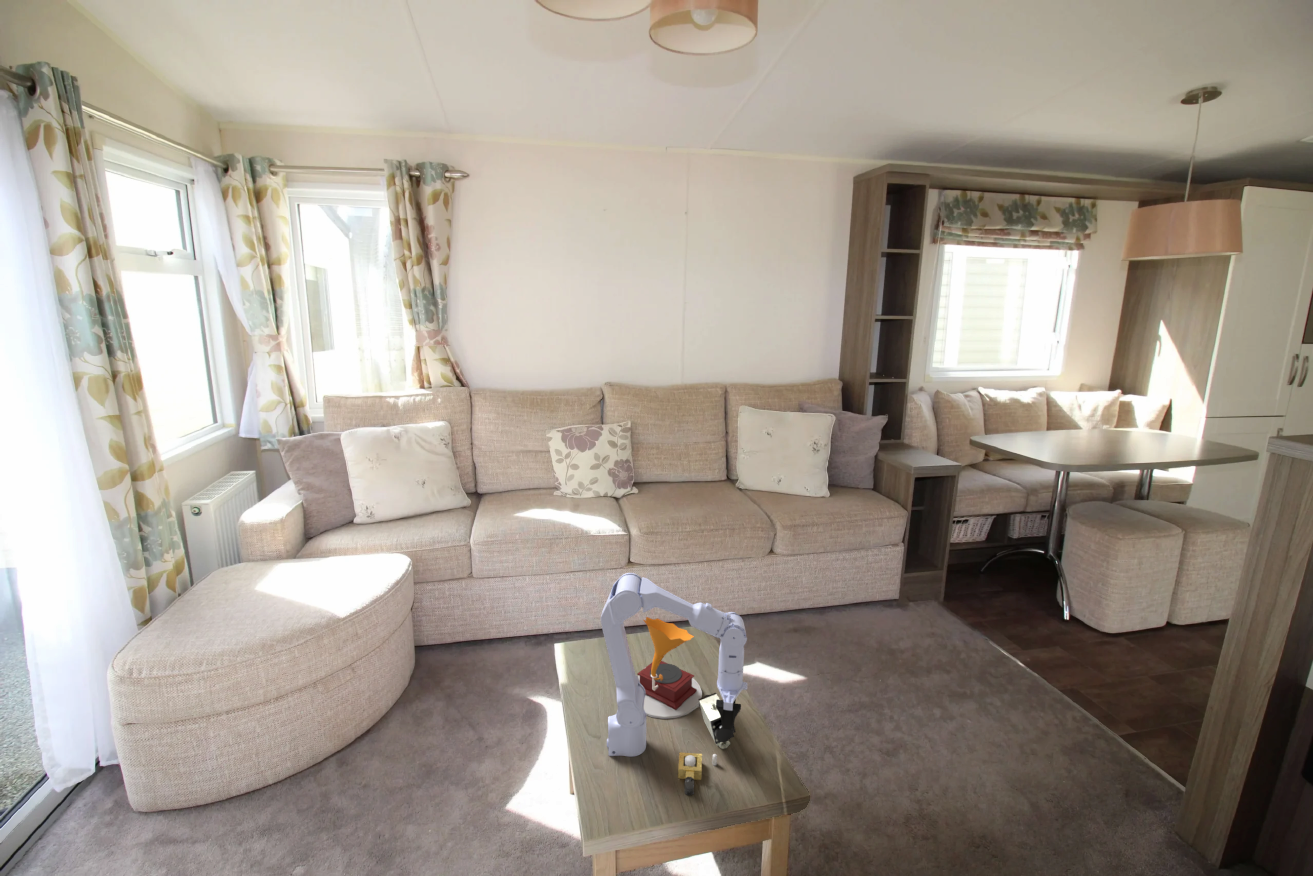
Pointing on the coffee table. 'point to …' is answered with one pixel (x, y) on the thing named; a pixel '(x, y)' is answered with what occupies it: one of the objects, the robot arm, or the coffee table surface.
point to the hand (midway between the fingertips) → (728, 717)
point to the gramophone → (668, 675)
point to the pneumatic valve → (715, 721)
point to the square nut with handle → (689, 771)
